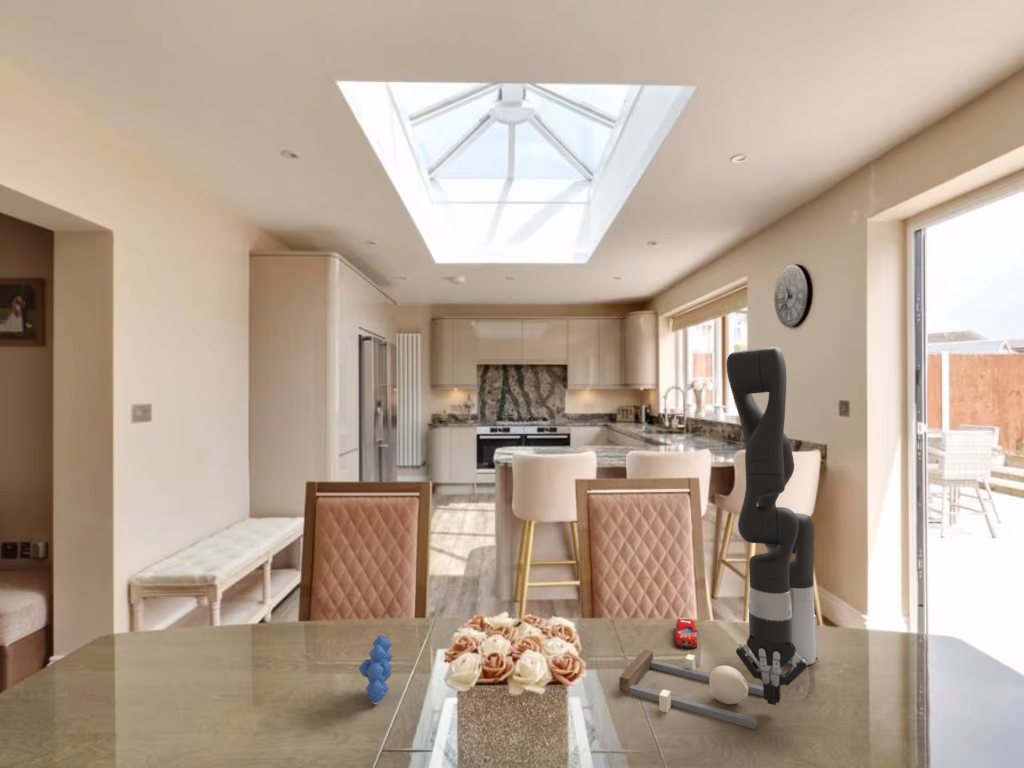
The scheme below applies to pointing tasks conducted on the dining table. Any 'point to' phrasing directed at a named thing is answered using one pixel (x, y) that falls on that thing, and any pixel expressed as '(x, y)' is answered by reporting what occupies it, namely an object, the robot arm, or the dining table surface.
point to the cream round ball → (728, 685)
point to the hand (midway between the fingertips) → (772, 702)
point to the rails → (693, 705)
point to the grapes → (377, 668)
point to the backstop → (635, 671)
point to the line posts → (666, 695)
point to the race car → (686, 633)
